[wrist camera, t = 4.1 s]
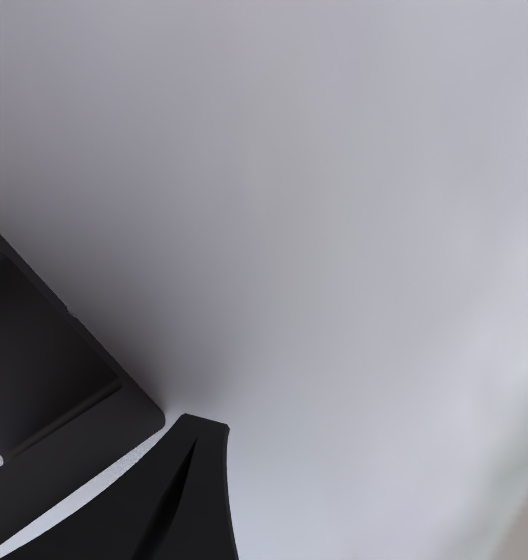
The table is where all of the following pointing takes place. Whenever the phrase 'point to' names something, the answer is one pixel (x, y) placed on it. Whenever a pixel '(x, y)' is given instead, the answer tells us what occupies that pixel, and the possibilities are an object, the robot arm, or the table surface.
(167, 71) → the table surface
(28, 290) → the phone stand
